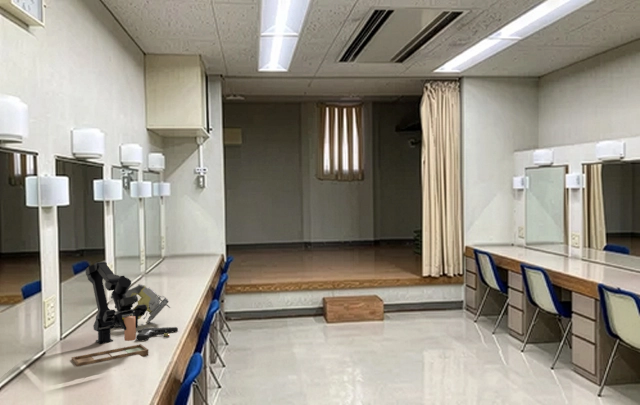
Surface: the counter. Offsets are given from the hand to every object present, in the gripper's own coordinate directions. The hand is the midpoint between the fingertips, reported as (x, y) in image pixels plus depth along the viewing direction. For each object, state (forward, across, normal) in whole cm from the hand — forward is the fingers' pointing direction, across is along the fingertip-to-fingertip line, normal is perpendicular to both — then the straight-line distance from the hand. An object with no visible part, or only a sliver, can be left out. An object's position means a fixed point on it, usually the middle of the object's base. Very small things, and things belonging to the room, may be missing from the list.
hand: (131, 328), depth 226 cm
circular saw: (-29, +28, +47) cm, 62 cm away
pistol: (-7, +23, +26) cm, 35 cm away
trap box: (+7, -8, +11) cm, 15 cm away
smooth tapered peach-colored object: (+3, 0, +5) cm, 5 cm away
